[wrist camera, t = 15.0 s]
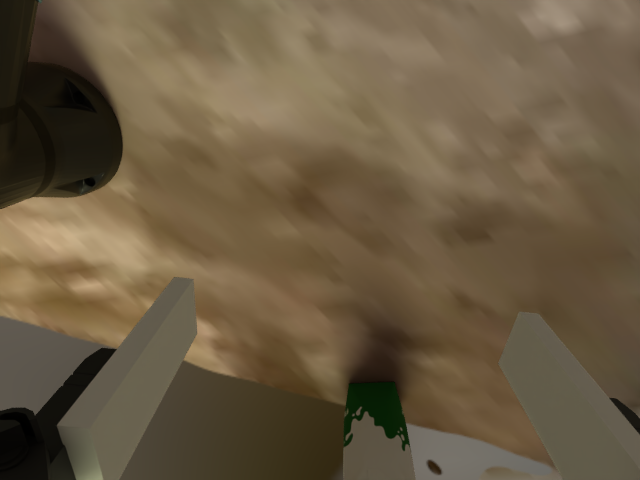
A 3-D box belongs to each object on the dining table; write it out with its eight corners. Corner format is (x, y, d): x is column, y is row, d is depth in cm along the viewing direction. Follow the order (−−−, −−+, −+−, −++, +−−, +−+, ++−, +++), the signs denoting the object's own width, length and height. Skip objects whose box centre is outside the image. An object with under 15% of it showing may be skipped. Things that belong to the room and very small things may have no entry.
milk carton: (401, 417, 58) (427, 569, 40) (346, 419, 59) (346, 568, 41) (400, 376, 55) (427, 522, 37) (341, 379, 56) (339, 522, 38)
